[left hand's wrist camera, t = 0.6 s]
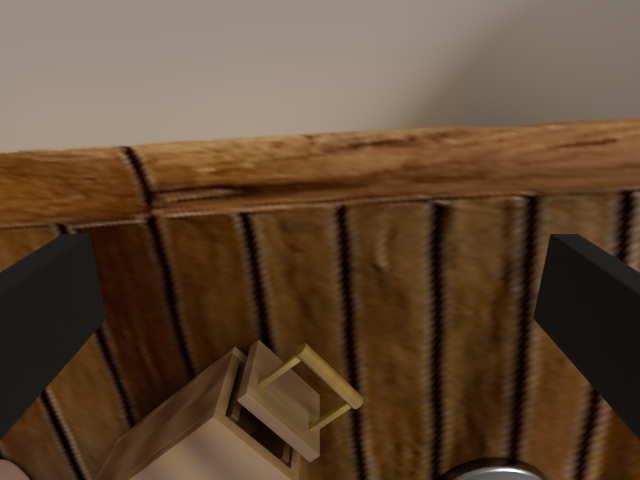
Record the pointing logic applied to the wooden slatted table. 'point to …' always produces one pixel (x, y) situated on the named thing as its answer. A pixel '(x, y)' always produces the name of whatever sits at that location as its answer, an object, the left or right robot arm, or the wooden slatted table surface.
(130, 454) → the cabinet
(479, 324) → the wooden slatted table surface
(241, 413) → the drawer
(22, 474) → the anatomical model
